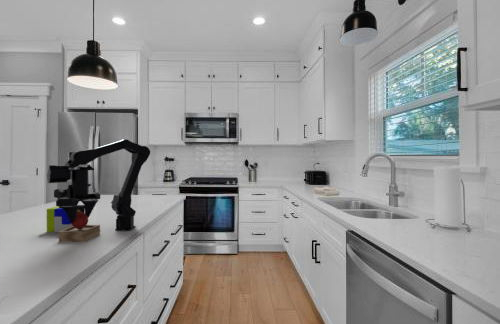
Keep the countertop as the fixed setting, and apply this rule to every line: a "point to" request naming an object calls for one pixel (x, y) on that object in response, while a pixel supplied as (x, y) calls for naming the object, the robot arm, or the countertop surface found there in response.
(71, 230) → the wooden tray
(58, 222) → the puzzle toy
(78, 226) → the onion
